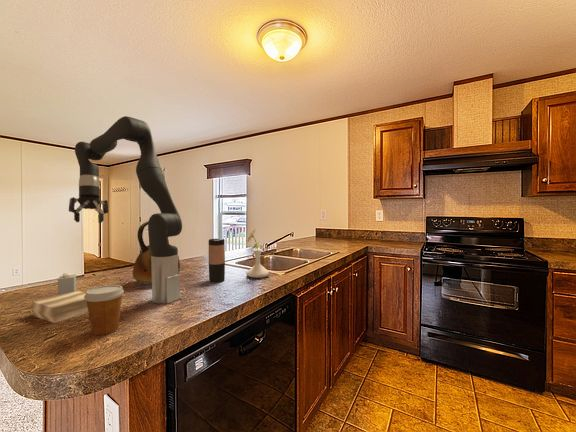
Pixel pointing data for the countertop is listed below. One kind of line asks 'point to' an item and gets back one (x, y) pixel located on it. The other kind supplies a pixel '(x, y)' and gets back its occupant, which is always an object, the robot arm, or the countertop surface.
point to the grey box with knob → (66, 283)
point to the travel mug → (216, 260)
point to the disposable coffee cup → (104, 308)
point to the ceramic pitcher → (144, 260)
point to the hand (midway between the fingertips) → (89, 222)
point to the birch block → (61, 306)
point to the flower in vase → (257, 269)
